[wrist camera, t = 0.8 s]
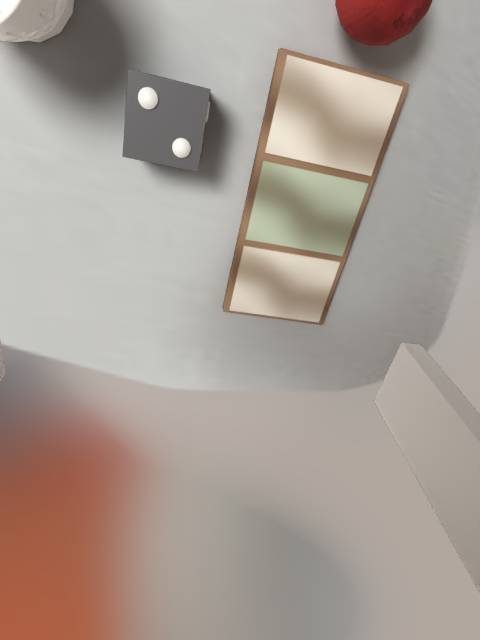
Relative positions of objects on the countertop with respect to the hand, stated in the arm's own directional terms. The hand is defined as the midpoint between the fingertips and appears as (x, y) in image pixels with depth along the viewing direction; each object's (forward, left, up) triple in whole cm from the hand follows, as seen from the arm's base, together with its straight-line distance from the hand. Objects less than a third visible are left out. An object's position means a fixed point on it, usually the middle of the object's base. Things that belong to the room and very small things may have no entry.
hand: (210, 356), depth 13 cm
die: (-5, -3, -23) cm, 23 cm away
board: (-1, +9, -23) cm, 24 cm away
